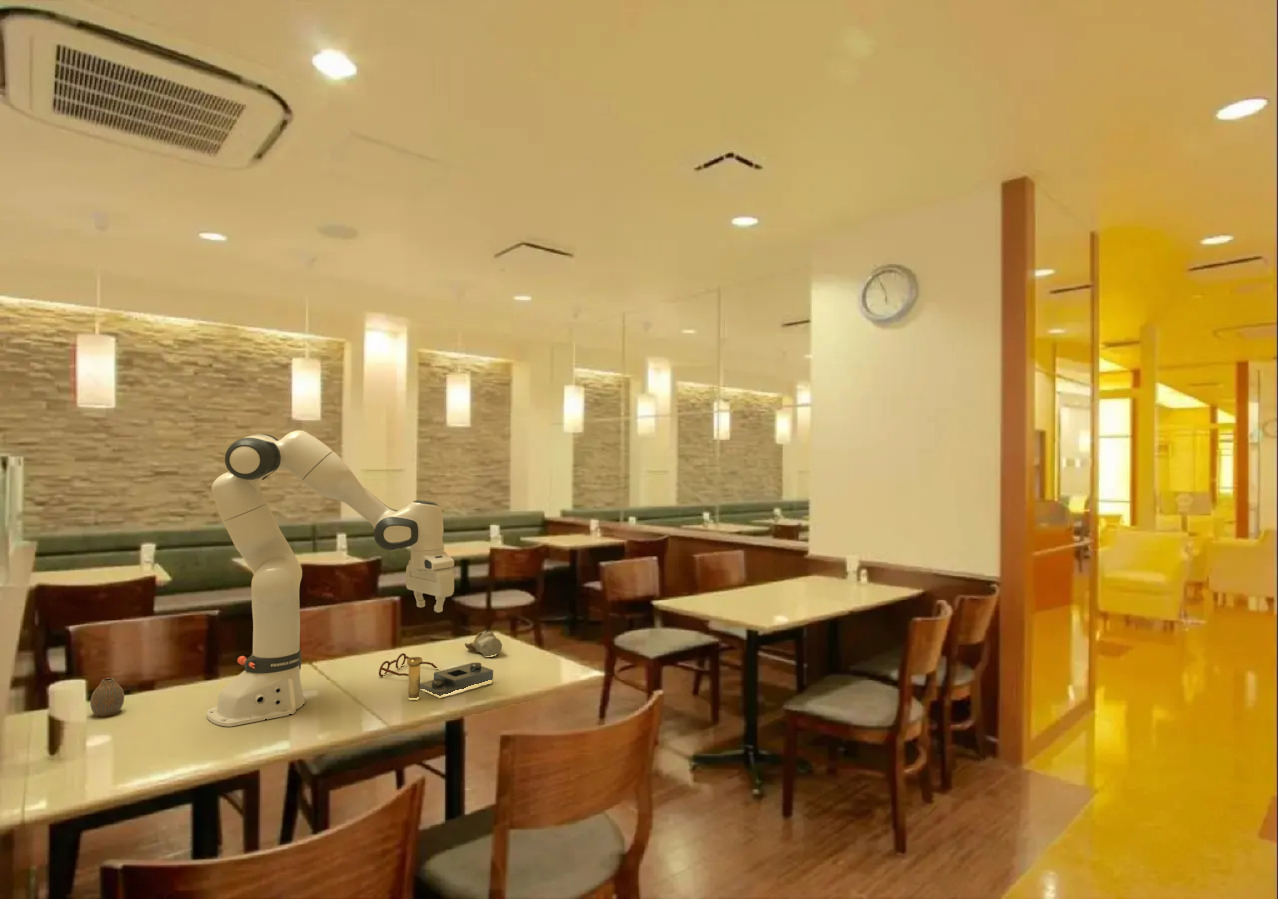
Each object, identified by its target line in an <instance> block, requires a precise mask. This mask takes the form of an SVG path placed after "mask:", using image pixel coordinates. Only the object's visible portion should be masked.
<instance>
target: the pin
mask: <svg viewBox="0 0 1278 899" xmlns="http://www.w3.org/2000/svg"><path fill="white" fill-rule="evenodd" d="M422 662H423V657H421V656H411V657H410V658H408V659H406V665H407V666H408V674H409V676H408V683H407V684H408V688H407V692H408V693H407V698H408V697H409V698H417V697H419V696H420V693H421V691H420V683H421V665H423V664H422Z"/></svg>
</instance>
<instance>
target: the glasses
mask: <svg viewBox="0 0 1278 899" xmlns="http://www.w3.org/2000/svg"><path fill="white" fill-rule="evenodd" d="M401 657H403V660H402V663H401V664H400V666H401V665H403V664H404V665H405V663H406V661H407V659H408V658H411V657H410V656H407V654H405V653H403V652H402V653H400V654H399V655H398V656H397V658H396V659H393V660H391V661H388V660H385V661H383V662H382V663H381V664H380V667H379V669H378V676H379V677H380V676H381V675H382V671H383V672H384V673H383V674H386V673H387V674H388V673H389V674H393V675H396V676H398V677H401V676H404V677H405V676H406V677H409V673H399V672H396V671H393V670H390V667H391V665H392V664H394V663H395V668H396V669H397V668H398V667H399V661H400V659H401ZM386 664H387V668H385V667H384V666H385V665H386ZM404 665H403V666H404ZM421 665H429V666H430V665H431V667H433V669H435V668H438V666H437V665H435V664H434V663H433V662H430V661H422V664H421ZM387 674H386V675H387Z"/></svg>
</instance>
